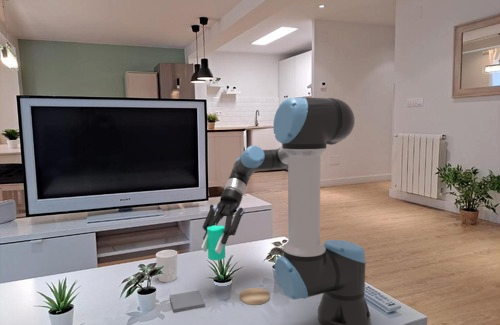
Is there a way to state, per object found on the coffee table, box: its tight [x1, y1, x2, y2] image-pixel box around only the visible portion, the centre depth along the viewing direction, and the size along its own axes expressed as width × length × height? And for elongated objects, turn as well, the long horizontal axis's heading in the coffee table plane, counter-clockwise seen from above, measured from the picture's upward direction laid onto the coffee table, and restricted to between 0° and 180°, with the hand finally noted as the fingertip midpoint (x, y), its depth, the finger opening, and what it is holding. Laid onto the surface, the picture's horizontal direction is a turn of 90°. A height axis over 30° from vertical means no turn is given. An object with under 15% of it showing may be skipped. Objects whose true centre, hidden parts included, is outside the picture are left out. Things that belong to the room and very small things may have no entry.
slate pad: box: [169, 289, 206, 313], centre depth 116 cm, size 10×10×1 cm
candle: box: [207, 225, 226, 261], centre depth 121 cm, size 6×6×12 cm
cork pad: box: [239, 287, 270, 306], centre depth 119 cm, size 10×10×1 cm
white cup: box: [155, 249, 178, 283], centre depth 134 cm, size 8×8×10 cm
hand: (210, 250), depth 118 cm, fingers closed on candle, 5 cm apart
